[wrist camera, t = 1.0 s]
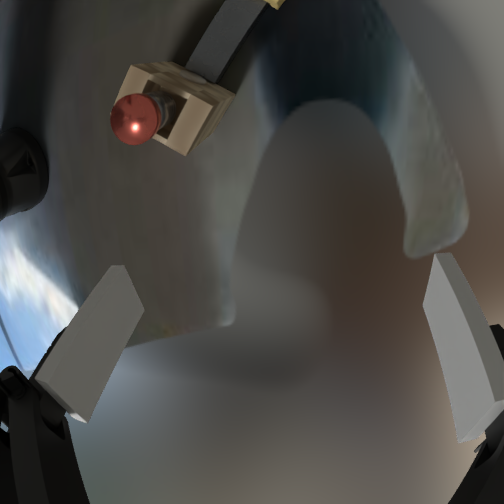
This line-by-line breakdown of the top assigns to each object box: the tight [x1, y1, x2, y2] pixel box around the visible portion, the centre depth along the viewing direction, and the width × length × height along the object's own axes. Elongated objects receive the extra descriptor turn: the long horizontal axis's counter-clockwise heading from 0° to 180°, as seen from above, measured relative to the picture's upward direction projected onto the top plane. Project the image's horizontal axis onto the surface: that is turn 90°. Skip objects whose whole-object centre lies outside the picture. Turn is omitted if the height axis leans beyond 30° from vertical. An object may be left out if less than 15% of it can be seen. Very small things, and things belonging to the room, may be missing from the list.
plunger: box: [110, 91, 176, 145], centre depth 24 cm, size 4×4×5 cm
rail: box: [185, 0, 270, 83], centre depth 26 cm, size 4×18×2 cm, turn 149°
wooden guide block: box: [110, 62, 236, 156], centre depth 30 cm, size 9×6×10 cm, turn 59°
